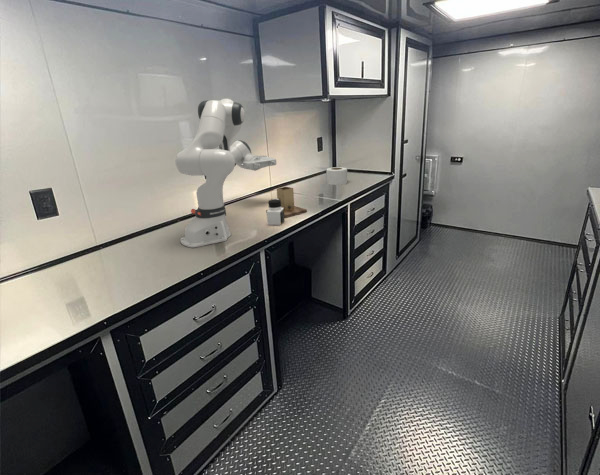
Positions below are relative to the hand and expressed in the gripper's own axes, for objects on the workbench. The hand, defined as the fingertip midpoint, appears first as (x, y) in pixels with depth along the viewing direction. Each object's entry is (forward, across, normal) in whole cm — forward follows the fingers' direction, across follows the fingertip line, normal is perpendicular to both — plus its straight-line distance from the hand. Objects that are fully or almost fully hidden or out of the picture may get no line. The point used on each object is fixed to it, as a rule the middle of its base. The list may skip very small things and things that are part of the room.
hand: (267, 164), depth 192 cm
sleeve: (+15, 0, +23) cm, 28 cm away
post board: (+15, 0, +25) cm, 29 cm away
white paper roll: (-19, +74, +25) cm, 80 cm away
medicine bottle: (+26, -15, +25) cm, 39 cm away
